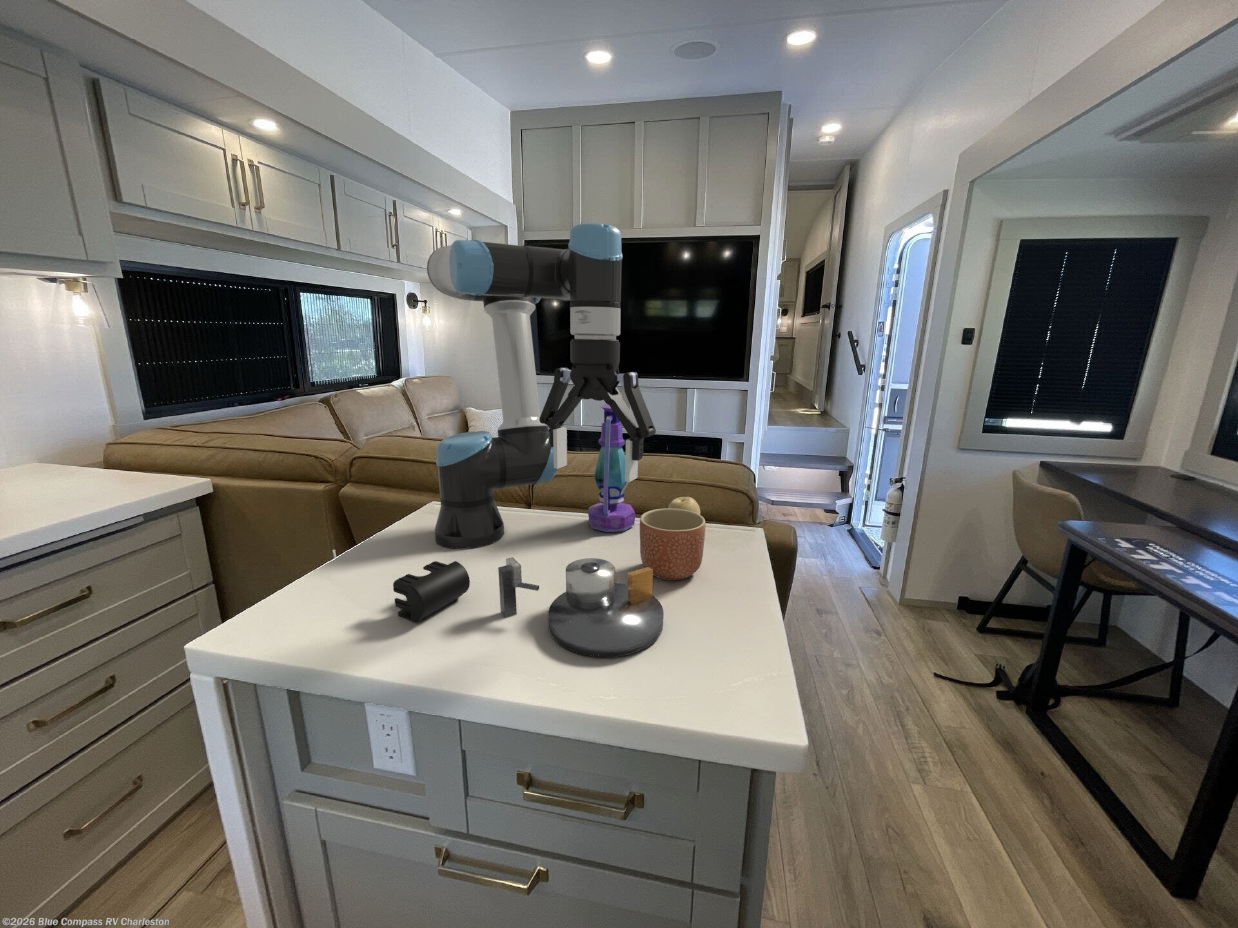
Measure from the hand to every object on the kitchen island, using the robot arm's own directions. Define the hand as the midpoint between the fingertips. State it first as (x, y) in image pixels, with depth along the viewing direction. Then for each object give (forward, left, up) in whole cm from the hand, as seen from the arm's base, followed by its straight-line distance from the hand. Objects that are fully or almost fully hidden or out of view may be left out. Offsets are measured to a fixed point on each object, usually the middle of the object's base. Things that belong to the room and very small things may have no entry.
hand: (594, 473), depth 79 cm
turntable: (+8, -2, -23) cm, 24 cm away
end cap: (-11, -24, -23) cm, 35 cm away
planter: (-1, +18, -23) cm, 29 cm away
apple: (-19, +36, -23) cm, 47 cm away
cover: (+3, -2, -20) cm, 20 cm away
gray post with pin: (-2, -13, -23) cm, 26 cm away
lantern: (-28, +21, -23) cm, 42 cm away
